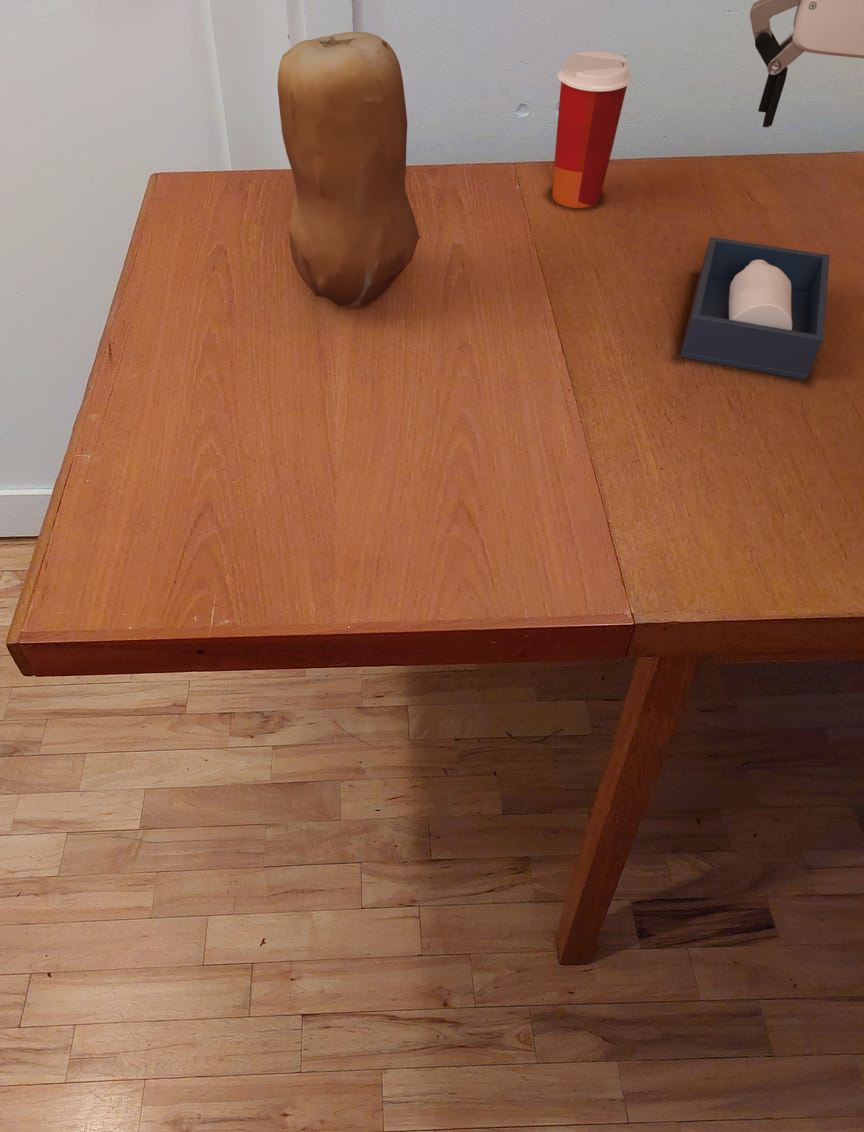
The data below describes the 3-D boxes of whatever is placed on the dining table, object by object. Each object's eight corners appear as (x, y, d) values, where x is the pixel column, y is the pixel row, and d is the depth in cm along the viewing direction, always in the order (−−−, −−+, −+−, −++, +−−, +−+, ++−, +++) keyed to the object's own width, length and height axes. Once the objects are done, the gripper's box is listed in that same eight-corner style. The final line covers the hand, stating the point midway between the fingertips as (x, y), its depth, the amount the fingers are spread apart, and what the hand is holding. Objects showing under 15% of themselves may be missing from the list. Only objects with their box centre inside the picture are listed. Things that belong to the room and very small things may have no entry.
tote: (806, 380, 88) (823, 339, 85) (679, 357, 91) (691, 316, 87) (813, 294, 98) (829, 254, 94) (699, 276, 100) (710, 236, 97)
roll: (779, 294, 97) (798, 244, 93) (782, 357, 90) (802, 306, 85) (722, 287, 98) (738, 237, 93) (721, 349, 91) (737, 298, 86)
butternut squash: (318, 256, 104) (300, 4, 84) (429, 273, 101) (438, 16, 82) (276, 321, 96) (246, 58, 76) (396, 340, 93) (398, 74, 74)
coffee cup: (607, 182, 114) (631, 50, 103) (610, 213, 109) (636, 78, 98) (541, 180, 115) (558, 48, 103) (542, 211, 110) (560, 76, 98)
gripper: (1041, -132, 64) (930, 124, 78) (791, -146, 68) (727, 100, 81) (1053, -108, 60) (933, 159, 73) (785, -124, 64) (718, 133, 77)
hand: (825, 128), depth 77 cm, fingers open, 9 cm apart
